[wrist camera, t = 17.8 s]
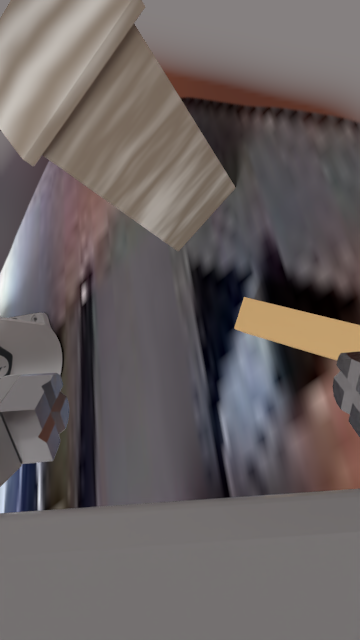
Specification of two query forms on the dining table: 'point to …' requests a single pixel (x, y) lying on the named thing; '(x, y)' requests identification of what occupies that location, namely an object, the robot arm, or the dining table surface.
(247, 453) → the dining table surface
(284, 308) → the ochre bar
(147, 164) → the birch pedestal
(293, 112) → the dining table surface
